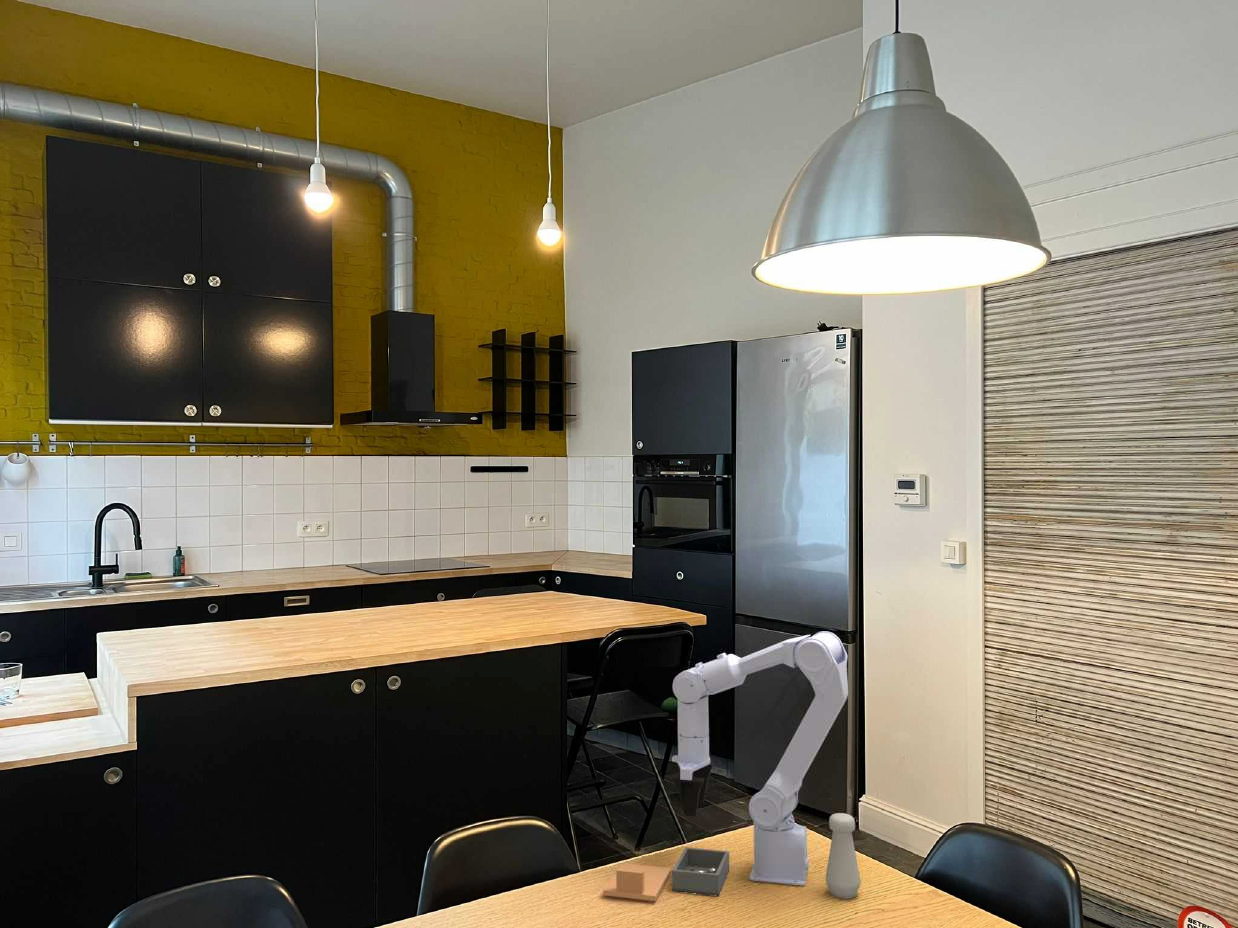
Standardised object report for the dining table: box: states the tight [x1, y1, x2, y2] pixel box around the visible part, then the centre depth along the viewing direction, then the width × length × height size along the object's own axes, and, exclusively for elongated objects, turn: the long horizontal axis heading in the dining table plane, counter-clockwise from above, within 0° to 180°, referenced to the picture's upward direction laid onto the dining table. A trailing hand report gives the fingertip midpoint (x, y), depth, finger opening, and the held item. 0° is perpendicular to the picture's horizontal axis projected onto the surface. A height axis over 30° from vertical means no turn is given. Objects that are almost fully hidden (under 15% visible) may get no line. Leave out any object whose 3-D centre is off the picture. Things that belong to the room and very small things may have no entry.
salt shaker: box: [825, 812, 862, 900], centre depth 156 cm, size 6×6×13 cm
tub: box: [671, 846, 730, 897], centre depth 161 cm, size 8×11×4 cm
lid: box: [602, 862, 672, 902], centre depth 159 cm, size 9×12×5 cm
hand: (694, 808), depth 171 cm, fingers open, 7 cm apart
